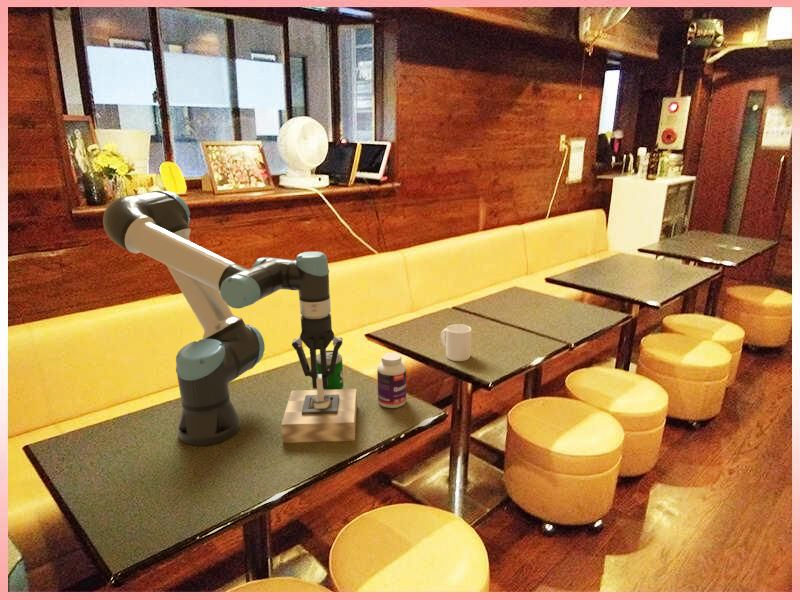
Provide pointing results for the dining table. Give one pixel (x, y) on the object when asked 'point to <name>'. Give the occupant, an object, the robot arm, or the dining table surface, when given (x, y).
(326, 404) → the peg
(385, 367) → the pill bottle
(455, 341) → the mug
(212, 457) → the dining table surface
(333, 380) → the soda can
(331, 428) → the block
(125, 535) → the dining table surface
